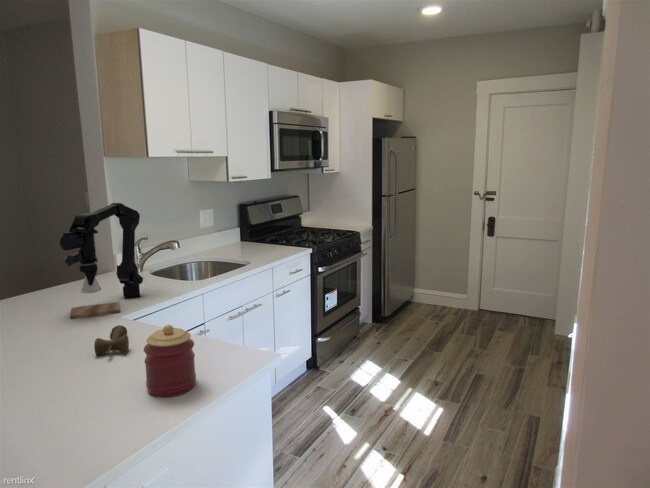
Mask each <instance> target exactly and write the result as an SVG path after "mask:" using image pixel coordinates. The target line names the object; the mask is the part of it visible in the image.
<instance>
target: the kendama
mask: <svg viewBox="0 0 650 488" xmlns="http://www.w3.org/2000/svg"><path fill="white" fill-rule="evenodd" d="M109 339H110V340H108V339H107V340H106V339H102V338H99V337H97V338H96V339H95V341H94V345H93V348H94V353H95V356H97V357H100V356H101V355H103V354H105V353H107V354H109V353H110V352H111V351H118V352H121V353H124V354H128V352H129V344H130V343H129V342H130V341H129V337H128V330H127V327H126V326H124V325H120V324H119V325H115V326H114V327H113V328H111V332H110V334H109Z"/></svg>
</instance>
